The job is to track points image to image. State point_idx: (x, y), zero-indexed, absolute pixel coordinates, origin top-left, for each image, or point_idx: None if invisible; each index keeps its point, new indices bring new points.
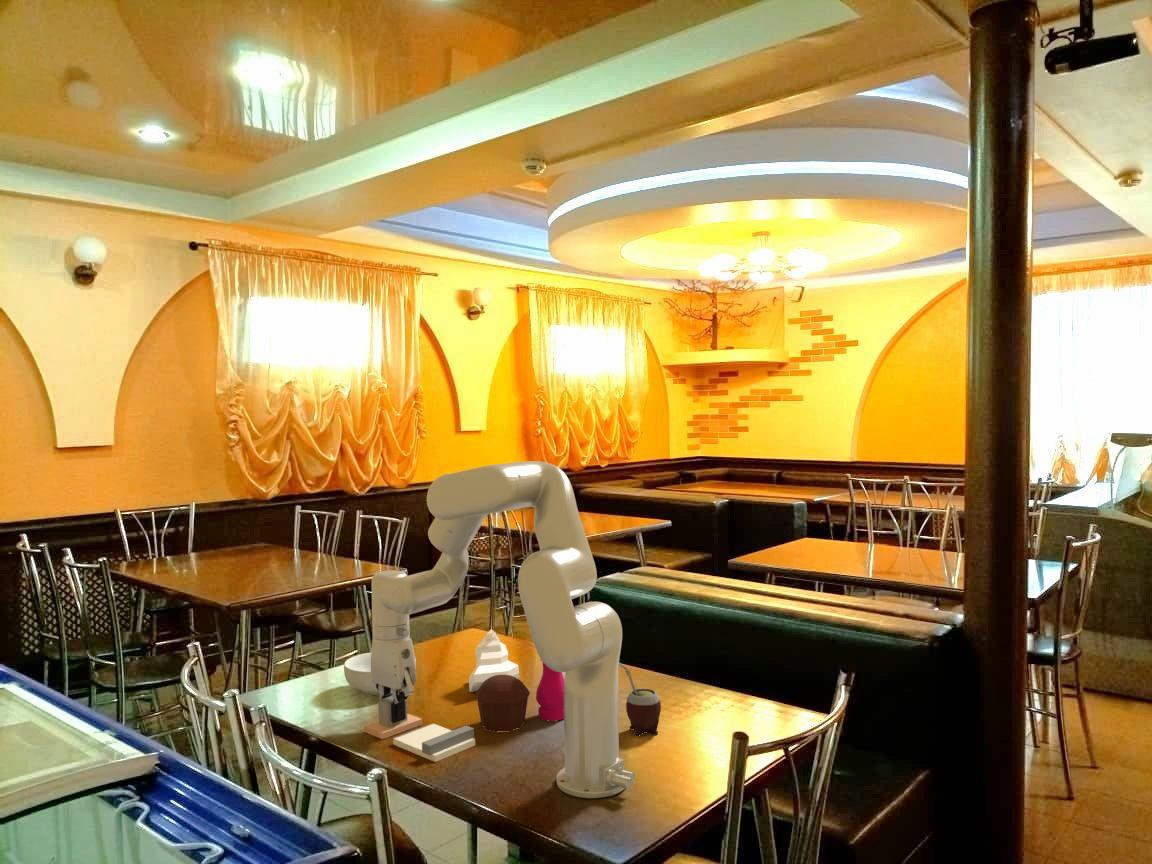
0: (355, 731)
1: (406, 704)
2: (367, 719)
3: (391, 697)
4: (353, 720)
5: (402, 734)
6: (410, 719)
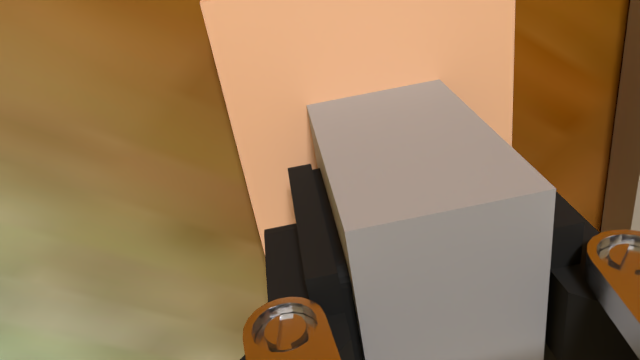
0: (238, 357)
1: (505, 149)
2: (49, 240)
3: (412, 339)
4: (15, 317)
5: (633, 223)
6: (440, 45)
